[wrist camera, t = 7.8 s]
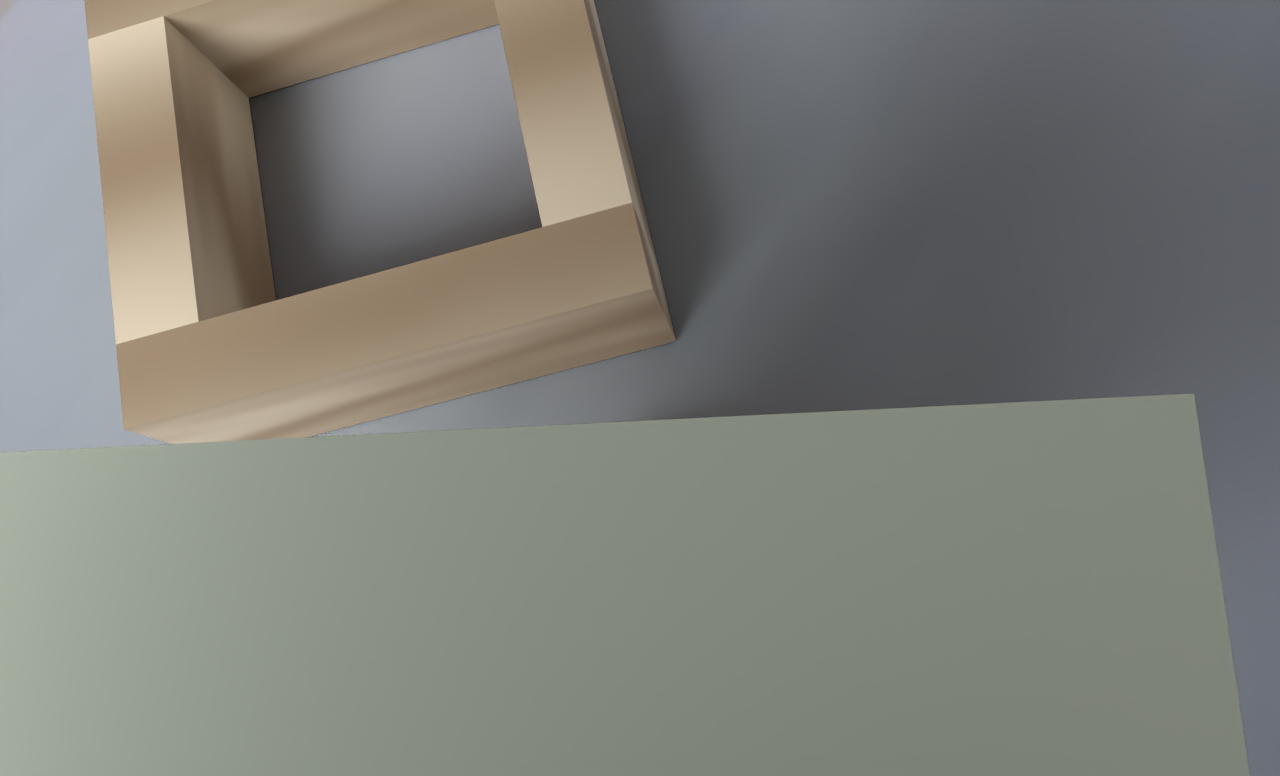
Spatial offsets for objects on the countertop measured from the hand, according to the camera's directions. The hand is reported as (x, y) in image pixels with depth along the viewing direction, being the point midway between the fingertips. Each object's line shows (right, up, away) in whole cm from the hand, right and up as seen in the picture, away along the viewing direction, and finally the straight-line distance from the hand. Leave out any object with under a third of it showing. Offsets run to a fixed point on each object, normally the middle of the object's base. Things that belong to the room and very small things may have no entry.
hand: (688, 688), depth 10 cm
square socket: (-5, +7, +11) cm, 14 cm away
